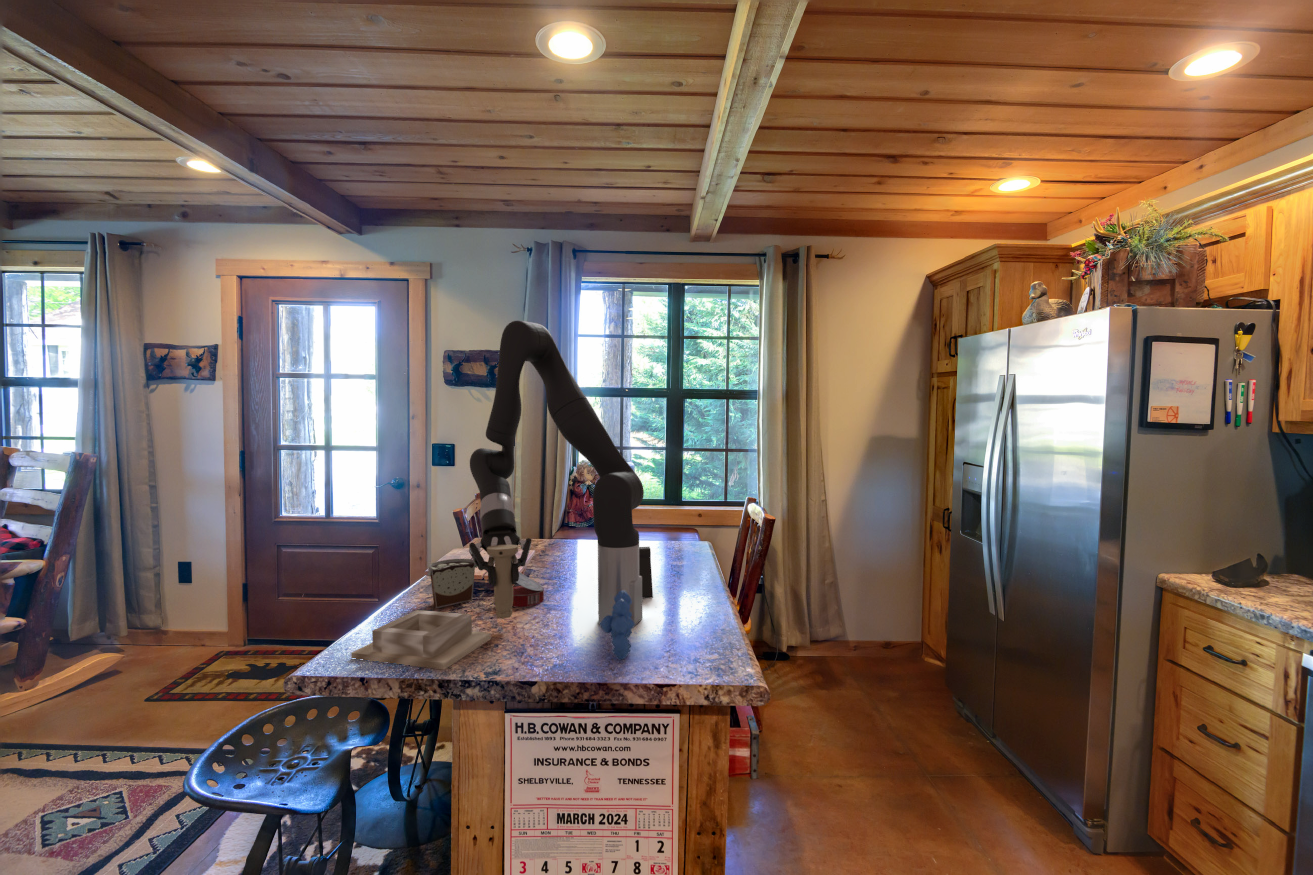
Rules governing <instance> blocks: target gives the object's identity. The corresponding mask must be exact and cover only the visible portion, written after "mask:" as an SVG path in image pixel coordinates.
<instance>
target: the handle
mask: <svg viewBox="0 0 1313 875" xmlns="http://www.w3.org/2000/svg"><path fill="white" fill-rule="evenodd" d="M518 552H519V545H494V546H489V547H487V552H486V554H487V556H489V555H490V556H492V557H493V558H494V560H495V563H494V566H495V575H496V586H493V599H494V607H495V610H496V611H495V616H496V619H502V620H504V619H509V618H511V617H512V615H513V607H512V606H513V586H514V584H512V569H511V557H512V556H513V555H516V554H518Z"/></svg>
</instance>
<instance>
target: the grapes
mask: <svg viewBox="0 0 1313 875" xmlns="http://www.w3.org/2000/svg"><path fill="white" fill-rule="evenodd" d="M614 600H615V604H614V606H613V607H612V608H613V611H612V615H611V616H610V615H607V616H605V617H604V619H603V620H602V621H601V623H599V626H600V628H601V629H602V631H603V632H604V633H606V634H611V635H610V638H611V639H612V640H611V642H610V643H611V645H612V646H613V649H612V650H611V651H612V652H613V654H614V656H615V658H616V659H617V660H619V661H623V660H624V659H625V658H627V656H628V655H629V654H630V652H631V648H632V645H631V643H630V641H629V637H630V636H631V635H632V633H633V632H632V631H633V630H632V629H633V628H634V627H635V626H636V625H635V623H634V622H633V620H632V619H631V617H632V613H631V612H630V610H629V609H630V605H631V603H632V601H631V598H630V596H629V595H628V593H627V592H626V591H624V590H621V591H619V593H618V594H617V595H616V596H615V598H614ZM634 625H635V626H634Z"/></svg>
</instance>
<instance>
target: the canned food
mask: <svg viewBox="0 0 1313 875" xmlns="http://www.w3.org/2000/svg"><path fill="white" fill-rule="evenodd" d="M544 588H545V587H544V586H542V585H541V583H538V582H537V581H535V580H533V579H532V578H530V577H529V576H527V575H525V574H523V573H522V572H521V571H519V580H518V581H517V582H516V584H515V585H513V607H515V608H523V607H526V608H527V607H532V606H537V605H539V604H542V603H543V602H545V601H544V600H545V599H544V598H545V597H544V596H545V595H544V594H545V593H544V592H545V590H544ZM513 607H512V608H513Z"/></svg>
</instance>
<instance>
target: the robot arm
mask: <svg viewBox="0 0 1313 875" xmlns="http://www.w3.org/2000/svg"><path fill="white" fill-rule="evenodd" d="M499 345H500V346H499V352H498V353H499V354H498V364H497V375H496V384H495V393H494V397H493V403H492V408H491V412H490V414H489V418H488V422H487V426H486V430H485V438H487V440H489V441H490V442H492V443H494V444H497V445H499V446H501V450H496V449H490V448H483V447H482V448H481V447H480V448H477V449H475V450H474V451H473V452H472V453H471V456H470V459H469V468H470V473H471V476H472V477H473V480H474V481H475V483H476V486H477V488H478V490H479V497H480V499H479V500H480V507H479V508H480V510H479V514H480V517H479V519H480V525H481V526H480V527H481V536H482V537H481V538H480V541H479V542H476V543H475V542H470V543H469V546H468V547H469V548H468V552H469V555H470V556H471V559H473V560H474V562H475V563H476V565H477V568H478V570H479V571H483V570H484V571H486V572H487V579H488V580H487V582H488V584H489V585H491V587H493V588H494V586H496V575H495V560H494V558H493V557H492V556H490V555H488V561H485V559H484V558H483V556H482V554H481V549H482V550H484V551H485V552H486V553H487V547H489V546H494V545H518V546H519V545H520V549H521V550H522V552H521V555H520V557H517V555H516V554H515V555H513V556H512V557H511V569H512V584H513V585H517V583H516V582H517V581H518V580H519V572H520V571H519V568H520V567H522V568H523V567H525V566H526V563H527V560H528V557H529V553H530V550H531V546H532V541H533V540H532V538H526V539H523V538H520V536H519V535H518V533H517V532H518V531H517V525H516V523H517V522H516V516H515V509H514V504H513V500H512V493H511V487H510V483H509V481H508V480H507V479H509V478H510V477H511V476H512V475H513V473H514V471H515V440H516V436H517V433H518V432H517V431H518V427H519V424H520V420H521V416H522V398H521V393H520V392H521V391H520V390H521V389H520V379H521V374H522V370H523V368H524V365H525V362H529V363H530V364H531V365H532V366H533V368H534V369H535V370H536V372H537V374H538V375H539V376H540V378H541V380H542V383H543V385H544V388H545V396H546V397H545V398H546V405H547V406H546V407H547V410H548V413H549V415H550V417H551V419H552V421H553V422H554V424H555V426H556V427H557V428H558V431H559V432H560V434H561V436H562V437H563V438H564V439H565V441H567V442H568V443H569V444H570V445H571V446H572V447H573V448H574V449H575V451H577V452H578V453H579V454H581V455H582V456H583V457H584V458H585V459H586V460H587V462H588V463H590V465H591V466H592V467H593V469H594V470H595V472H596V474H597V476H598V477H599V478H598V479H597V481H596V482H595V484H594V487H593V493H592V511H593V514H592V516H593V527H594V532H595V534H596V538H597V583H598V584H597V599H598V600H597V602H598V604H597V606H598V607H597V609H598V610H597V615H598V617H597V618H598V620H597V621H598V623H599V624H600V623H601V621H602V620H603V619H604V617H605V616H607V615H610V616H611V615H612V611H613V608H612V607H613V606H614V604H615V600H614V598H615V596H616V595H617V594H618V593H619V591H621V590H624V591H626V592H627V593H628V595H629V596H630V598H631V601H632V603H631V605H630V609H629V610H630V612H631V613H632V617H631V619H632V620H633V622H634V623H635V625H634V627H636V626H637V624H638V623H639V622H640V621H641V620H642V619H643V598H642V576H639V547H640V533H639V531H638V530H637V529H636V528H635V527H634V524H633V522H634V521H633V510H635V509H637V508H638V507H639V506H640V505H641V504H642V502H643V500H644V494H645V492H644V490H645V489H644V486H643V484H642V483H643V482H642V481H641V479H640V476H638V474H637V473H636V472H635V471H634V470H633V468H632V467H631V465H630V464H629V463H628V461H627V460H626V459H625V458H624V456H623V455H622V454H621V452H620V451H619V450H618V448H617V446H615V444H614V441H613V440H612V438H611V437H610V435H609V433H608V431H607V430H606V428H605V427H604V425H603V423H602V421H601V419H599V418H600V417H598V415H597V413H596V411H595V410H594V408H593V406H592V404H591V403H590V401H589V399H588V398H587V397H586V395H585V394H584V392H583V391H582V389H581V387H580V386H579V384H578V382H577V381H576V380H575V377H574V376H573V374H572V373H571V372H570V369H569V368H568V365H566V363H565V361H564V359H563V357H562V355H561V352H560V350H559V348H558V346H557V343H556V342H555V340H554V337H553V336H552V334H551V333H550V330H548V329H547V328H546V327H545V326H544V325H543V324H540V323H537V322H531V321H526V320H513V321H511V322H509V323H508V324H506V326H505V327H504V329H503V331H502V334H501V339H500V343H499Z"/></svg>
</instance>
